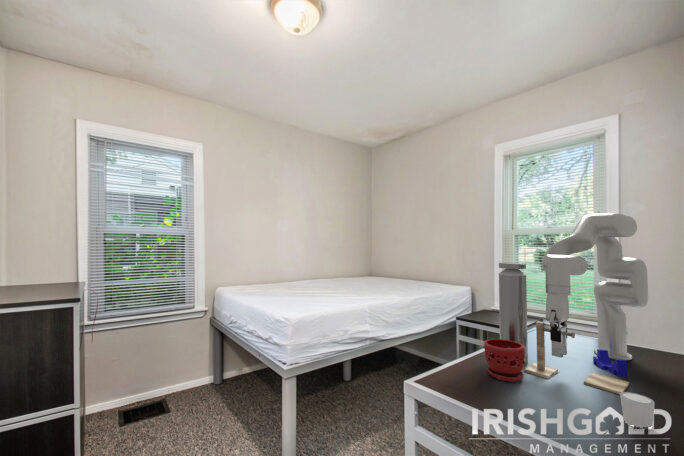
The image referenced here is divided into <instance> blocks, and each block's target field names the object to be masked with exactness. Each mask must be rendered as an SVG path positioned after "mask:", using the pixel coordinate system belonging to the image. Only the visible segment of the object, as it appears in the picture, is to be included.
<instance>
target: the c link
mask: <svg viewBox="0 0 684 456" xmlns="http://www.w3.org/2000/svg"><path fill="white" fill-rule="evenodd" d="M556 325H557V326H558V324H556ZM566 328H567V327H566V326H561V325H560V331H561V342H555V341H551V340H550V341H551V344H550V345H551V357H556V358H563V357H564V356H566V355H567V354H568V349H567V347H568V346H567V345H568V342H567V339H568V336H567V337H566V335H562V332H566Z"/></svg>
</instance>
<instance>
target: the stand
mask: <svg viewBox="0 0 684 456" xmlns="http://www.w3.org/2000/svg"><path fill="white" fill-rule="evenodd" d="M535 323H536V362H534V363H532V364H530V365H527V367H525V368H523V369H524V370H523V371H524V373H527V374H531V375H534V376H537V377H540V378H544V379H547V380H549V379H551V378H552V377H553V376H554V375H556V374H557V373H558V372H559V369H558V368H556V367H552V366H548V365H546V350H545V348H546V346H545V343H546V342H545V332H547V333H550V328H545V322H544V321H539V320H537V321H536V322H535ZM562 335H566V336H567V337H571V339H575V336H576V333H575V332H574V331H572V332H568V331H567V332H562Z"/></svg>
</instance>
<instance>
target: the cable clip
mask: <svg viewBox="0 0 684 456" xmlns="http://www.w3.org/2000/svg"><path fill="white" fill-rule="evenodd" d="M592 358H593V359H592V362H593V363H592V364H593V365H596V366H597V367H598V368H600V369H602V370H607V371H609V372H610V373H612V374H613V375H615V376H617V377H621V378H623V377H624V378H627V377H628V362H627V361H628V360H624V359H613V360H614V362H612V360H611V358H609V355H608V351H607V350H605V349H597V356H592Z"/></svg>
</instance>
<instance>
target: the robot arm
mask: <svg viewBox="0 0 684 456" xmlns="http://www.w3.org/2000/svg"><path fill="white" fill-rule="evenodd" d="M637 230H638V224H637V221H636V220H635V218H634V217H631V216H630V215H626V214H622V213H616V212H608V213H590V214H587V215H586V214H585V215H584V216H582V217H581V218H580V219H579V221H578V222H577V224H576V226H575V227H574V228H573V230H572V232H571V234H570V235H568V236H566V237H564V238H563V239H561V240H558V241H556V242H555V243H553V244H552V245H550V246H549V247H548V249H547V250H546V252H545V253H544V255H543V257H542V258H541V259H542V260H541V267H542V269H543V271H544V272H545V294H546V301H545V320H546V321H547V322H549V329H550V332H549V334H550V335H549V336H550V341H555V342H561V331H560V325H561V326H566V332H568V320H569V319H570V307H569V306H570V303H569V302H570V301H569V296H571V276H576V277H577V276H582V275H584V274H585V273H586V272H587V270H588V267H589V266H588V264H589V263H588V261H587V260H586V259H585V258H584V257H582V256H581V255H575V254H579V253H583V252H586V251H589V250H591V249H593V248H594V246H595V247H596V261H597V262H596V263H597V266H596V267H597V273H598V275H599V276H600V277H601V278H604V279H609V280H610V279H611V280H612V279H613V280H620V281H621V280H623V281H629V283H628V282H627V283H626V282H618V281H600V282H597V283H596V284H595V285H594V286H593V295H594V298H595V302H596V317H597V318H596V319H597V321H596V322H597V347H595V348H593V352H594V353H595V354H597V349H605V350H607V351H608V355H609V358H610V360H611V359H612V360H615V359H624V360H626V361H630V360H633V355H632V354H630V353H629V352H628V345H627V344H628V342H627V341H628V338H627V337H628V336H627V317H626V314H625V312H624V310H623V309H622V308H621V307H620V306H624V307H632V308H640V309H641V308H644V307H646V306H647V305H648V303H649V283H648V282H649V281H648V280H649V279H648V277H649V276H648V268H647V265H646V263H645V261H644V260H642V259H641V258H638V257H625V256H624V255H623V246H622V244H621V242H620V241H619V240H618V239H617V238H630V237H632V236H634V235H636V232H637ZM573 254H574V255H573ZM557 325H558V326H557ZM566 337H567V338H568V336H566Z"/></svg>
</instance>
